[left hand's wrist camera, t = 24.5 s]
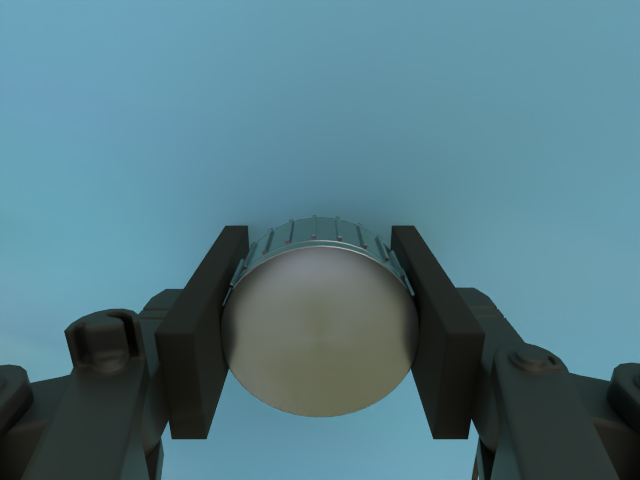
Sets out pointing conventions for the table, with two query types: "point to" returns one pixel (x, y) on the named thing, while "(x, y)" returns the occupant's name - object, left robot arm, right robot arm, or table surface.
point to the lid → (320, 319)
